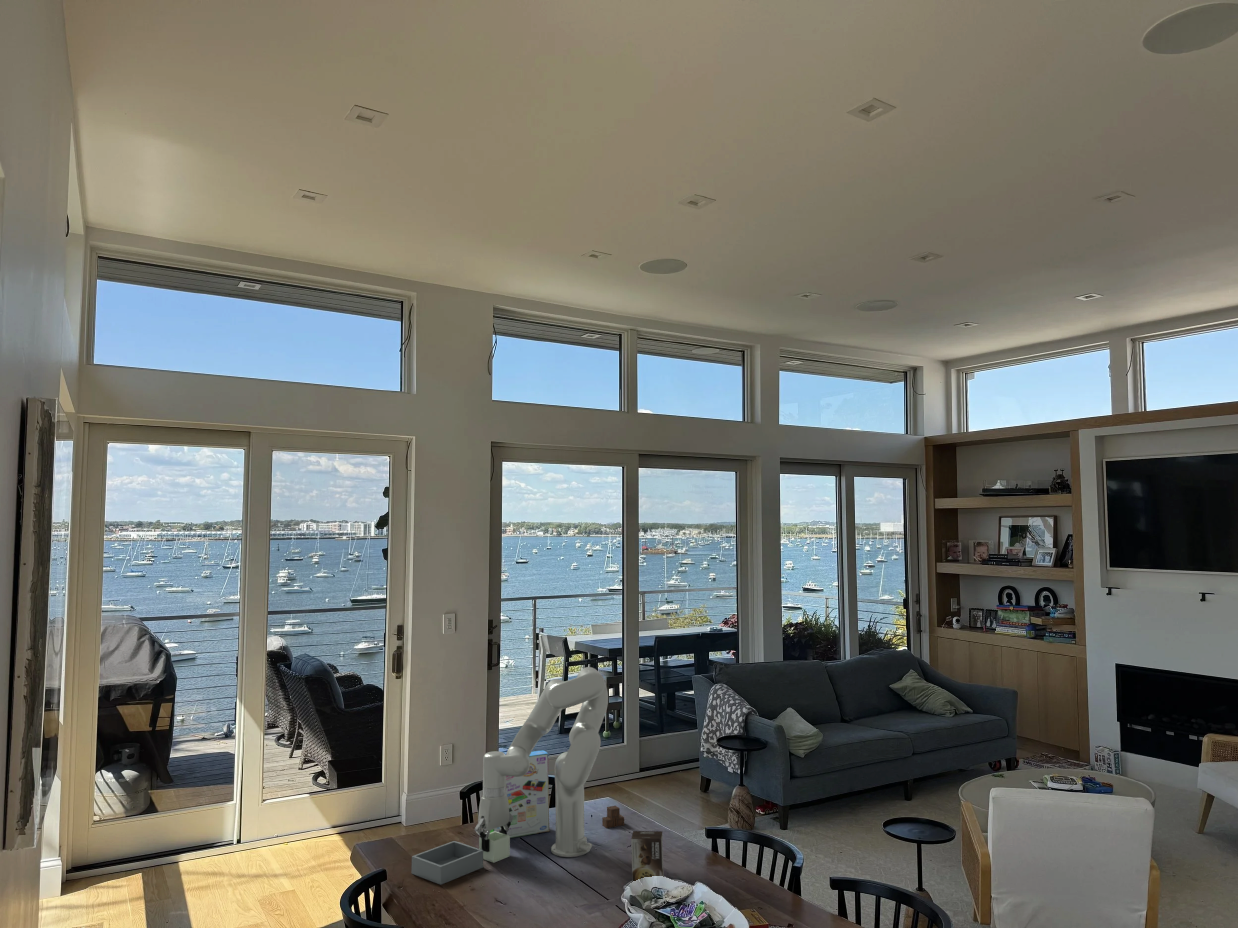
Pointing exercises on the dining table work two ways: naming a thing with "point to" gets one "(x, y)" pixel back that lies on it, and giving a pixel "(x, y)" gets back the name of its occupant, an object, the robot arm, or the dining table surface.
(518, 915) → the dining table surface
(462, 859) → the big crate
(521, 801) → the game box
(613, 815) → the stack of crates
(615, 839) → the dining table surface
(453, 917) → the dining table surface
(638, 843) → the food package box
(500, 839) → the small crate
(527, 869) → the dining table surface
